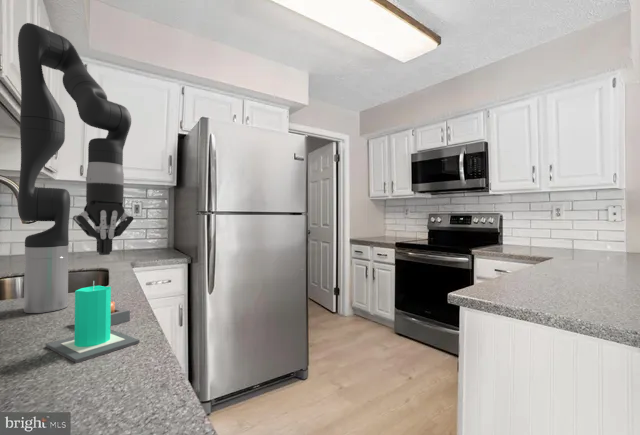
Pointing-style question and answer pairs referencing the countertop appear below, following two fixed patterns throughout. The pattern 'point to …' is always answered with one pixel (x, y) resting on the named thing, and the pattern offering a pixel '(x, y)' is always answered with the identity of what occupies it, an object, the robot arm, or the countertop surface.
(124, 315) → the button box
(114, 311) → the button
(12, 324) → the countertop surface
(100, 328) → the candle
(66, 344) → the grey flat plate
